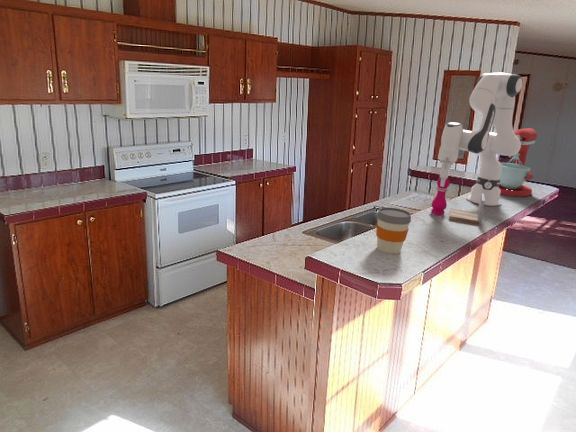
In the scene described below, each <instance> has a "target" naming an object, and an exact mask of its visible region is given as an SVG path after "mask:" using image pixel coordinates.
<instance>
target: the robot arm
mask: <svg viewBox="0 0 576 432" xmlns="http://www.w3.org/2000/svg"><path fill="white" fill-rule="evenodd" d="M523 83H524V80H523V78H522V76H521V75H519V74H517V73H510V72H486V73H482V74H480V76H479V77H478V78H477V82H476V85H475V87H474V89H473V90H472V92H471V94H470V96H469V98H468V102H469V106H470V108H471V109H472V110H473V111H474V112H476V113H477V114H479V115H481V116H482V120H481V123H480V126H479V129H478V130H477V131H473V130H467V129H464V128H463V124H462V123H460V122H452V121H451V122H447V123H445V124H444V125H445V126H444V128H443V131H442V134H441V139H440V141H441V142H440V143H441V145H440V147H439V150H438V154H437V155H438V156H437V160H439V164H441V168H440V173H439V178H441V184H440V186H442V187H444V184H445V180H446V179H449V178H448V177H449V173H450V170H451V168H452V166H453V165H454V163H455V162H458V156H459V151H460V150H461V151H464V152H469V153H472V154H475V155H479V159H480V166H479V172H478V175H477V177H476V182H475V184H473V186H472V187H471V188H470V193H469V195H468V196H467V197H466V198H465V199H466V201H469V202H472V203H475V204H478V205H479V202H480V198H481V193H482V194H484V198H485V203H484V206H489V207H490V206H502V205H503V203H502V202H501V201H500V196H501V194H500V192H501V190H500V189H499V187H498V186H499V184H500V175H501V171H502V165H501V163H502V162H500V161H499V160H498V159H497V155H500V156H505V157H509V156H510V157H511V156H512V157H513V156H514V155H516V154H517V153H518V152H519V150H520V148H521V142H520V140H519V139H518V137H517V136H516V135H515V133H514V132H515V130H514V126H513V119H514V118H513V116H514V111H515V103H516V96H517V95H518V94H519V93H520V92H521V90H522V88H523ZM492 126H493V127H494V129H495V131H496V132H492V131H491V130H492Z"/></svg>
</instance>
